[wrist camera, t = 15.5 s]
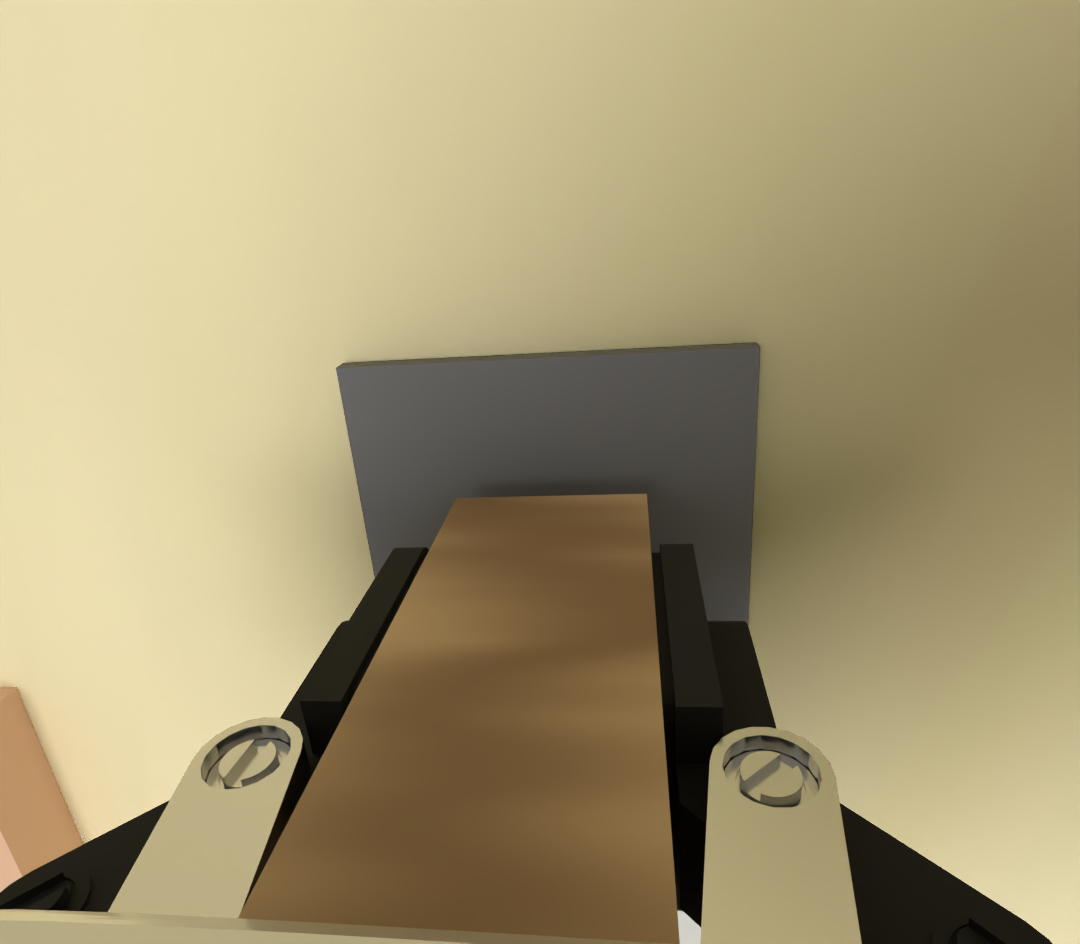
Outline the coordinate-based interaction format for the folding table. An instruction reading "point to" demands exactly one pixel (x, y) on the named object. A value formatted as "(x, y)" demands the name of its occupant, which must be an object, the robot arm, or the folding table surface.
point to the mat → (566, 444)
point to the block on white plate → (501, 743)
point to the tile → (28, 797)
